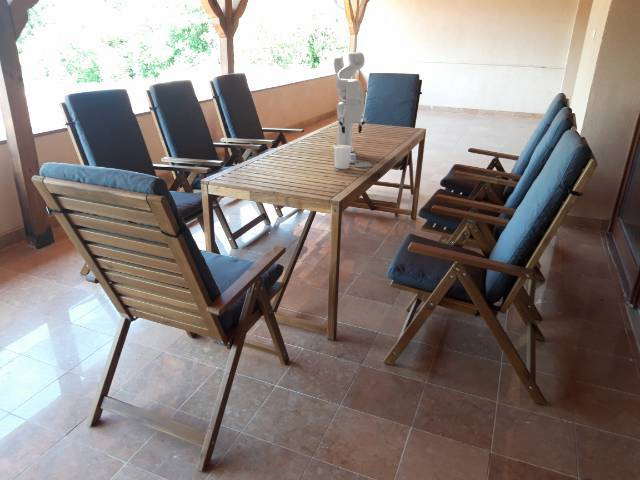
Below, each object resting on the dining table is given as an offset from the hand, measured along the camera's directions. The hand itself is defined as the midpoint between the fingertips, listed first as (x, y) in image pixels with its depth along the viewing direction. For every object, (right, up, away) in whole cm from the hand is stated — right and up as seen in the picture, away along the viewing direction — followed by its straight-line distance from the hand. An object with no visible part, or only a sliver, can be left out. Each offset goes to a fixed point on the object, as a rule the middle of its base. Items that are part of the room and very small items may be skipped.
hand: (351, 133), depth 280 cm
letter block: (0, -16, +7) cm, 18 cm away
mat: (+7, -19, 0) cm, 20 cm away
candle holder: (-6, -21, -4) cm, 22 cm away
